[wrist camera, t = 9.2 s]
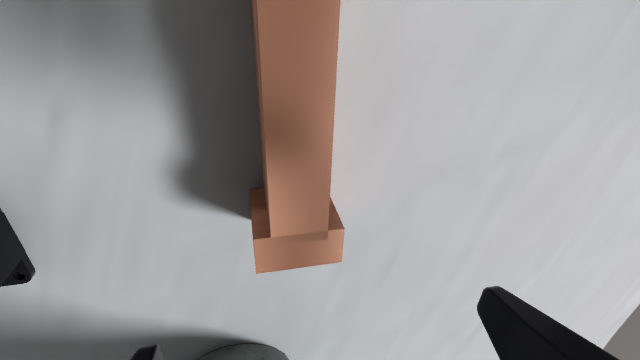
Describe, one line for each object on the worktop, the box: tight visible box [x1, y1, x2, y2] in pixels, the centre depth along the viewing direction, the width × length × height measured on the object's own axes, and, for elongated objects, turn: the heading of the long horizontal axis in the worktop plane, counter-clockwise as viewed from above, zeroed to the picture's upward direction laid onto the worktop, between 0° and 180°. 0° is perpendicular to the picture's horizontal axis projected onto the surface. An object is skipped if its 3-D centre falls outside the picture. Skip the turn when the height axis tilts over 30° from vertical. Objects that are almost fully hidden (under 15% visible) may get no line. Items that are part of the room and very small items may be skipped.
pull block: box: [249, 0, 344, 274], centre depth 12 cm, size 5×20×4 cm, turn 179°
